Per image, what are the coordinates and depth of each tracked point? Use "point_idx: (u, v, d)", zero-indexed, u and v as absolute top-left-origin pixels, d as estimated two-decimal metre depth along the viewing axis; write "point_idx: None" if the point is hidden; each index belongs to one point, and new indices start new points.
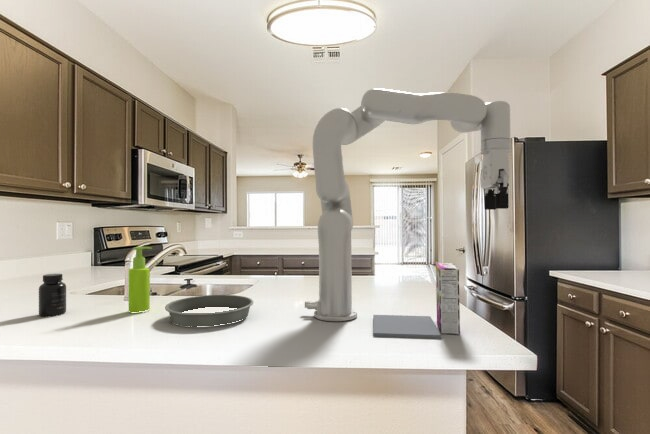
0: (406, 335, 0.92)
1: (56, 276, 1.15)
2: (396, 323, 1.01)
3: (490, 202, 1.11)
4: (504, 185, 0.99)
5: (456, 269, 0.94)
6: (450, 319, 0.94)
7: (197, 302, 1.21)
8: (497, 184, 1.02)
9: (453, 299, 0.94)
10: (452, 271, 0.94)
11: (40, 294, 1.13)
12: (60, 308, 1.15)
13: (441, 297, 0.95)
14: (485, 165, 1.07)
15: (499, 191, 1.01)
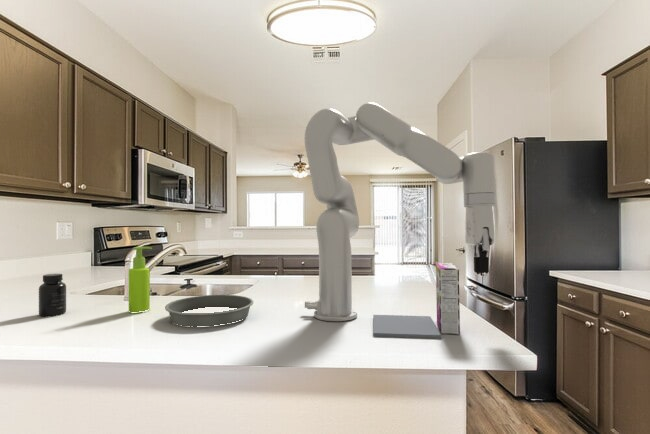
0: (406, 335, 0.92)
1: (56, 276, 1.15)
2: (396, 323, 1.01)
3: None
4: (483, 251, 0.96)
5: (456, 269, 0.94)
6: (450, 319, 0.94)
7: (197, 301, 1.21)
8: (478, 248, 0.97)
9: (453, 299, 0.94)
10: (452, 271, 0.94)
11: (40, 294, 1.13)
12: (60, 308, 1.15)
13: (441, 297, 0.95)
14: (468, 220, 0.99)
15: (478, 255, 0.97)
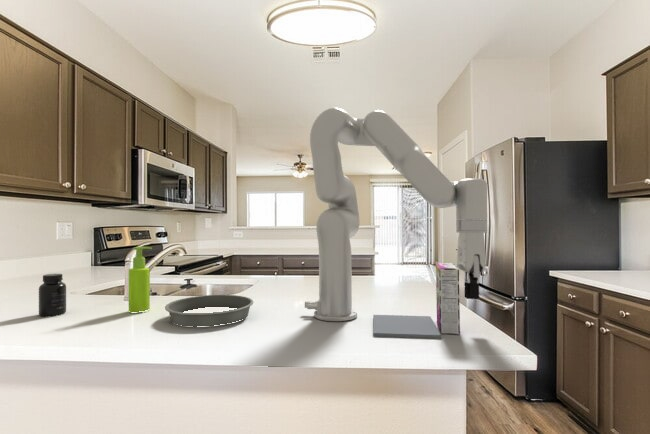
0: (406, 335, 0.92)
1: (56, 276, 1.15)
2: (396, 323, 1.01)
3: None
4: (473, 278, 0.96)
5: (456, 269, 0.94)
6: (450, 319, 0.94)
7: (197, 301, 1.21)
8: (469, 274, 0.97)
9: (453, 299, 0.94)
10: (452, 271, 0.94)
11: (40, 294, 1.13)
12: (60, 308, 1.15)
13: (441, 297, 0.95)
14: (460, 246, 0.99)
15: (469, 282, 0.97)
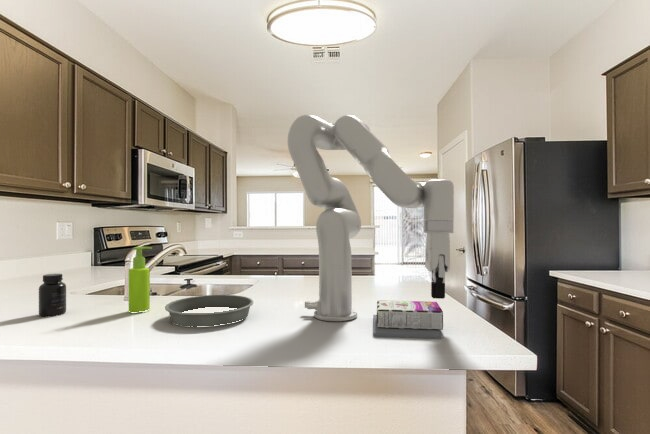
0: (406, 335, 0.92)
1: (56, 276, 1.15)
2: None
3: None
4: (439, 278, 0.97)
5: (377, 311, 0.97)
6: (427, 319, 0.95)
7: (197, 301, 1.21)
8: (435, 274, 0.98)
9: (407, 316, 0.96)
10: (379, 315, 0.97)
11: (40, 294, 1.13)
12: (60, 308, 1.15)
13: (405, 327, 0.96)
14: (427, 246, 1.00)
15: (435, 281, 0.98)
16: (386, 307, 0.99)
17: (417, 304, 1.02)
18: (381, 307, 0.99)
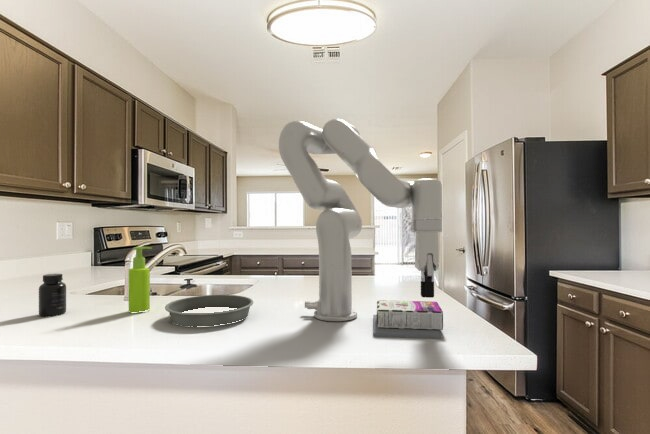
0: (406, 335, 0.92)
1: (56, 276, 1.15)
2: None
3: None
4: (428, 277, 0.98)
5: (377, 312, 0.97)
6: (427, 320, 0.95)
7: (197, 301, 1.21)
8: (424, 273, 0.99)
9: (407, 316, 0.96)
10: (379, 316, 0.97)
11: (40, 294, 1.13)
12: (60, 308, 1.15)
13: (405, 327, 0.96)
14: (416, 245, 1.00)
15: (424, 280, 0.99)
16: (386, 307, 0.99)
17: (417, 304, 1.02)
18: (381, 307, 0.99)
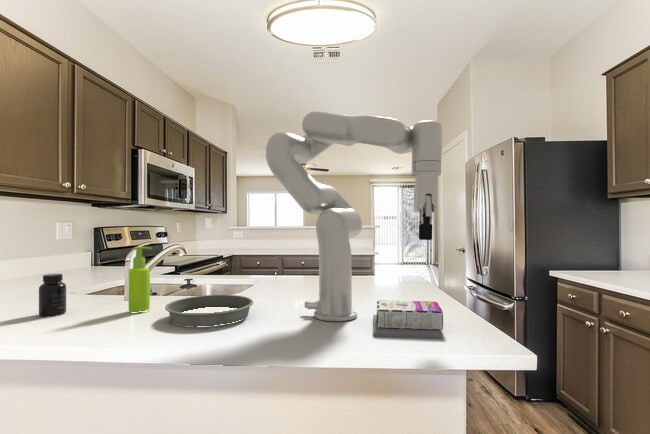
0: (406, 335, 0.92)
1: (56, 276, 1.15)
2: None
3: None
4: (426, 218, 0.98)
5: (377, 312, 0.97)
6: (427, 320, 0.95)
7: (197, 302, 1.21)
8: (422, 215, 0.99)
9: (407, 316, 0.96)
10: (379, 316, 0.97)
11: (40, 294, 1.13)
12: (60, 308, 1.15)
13: (405, 327, 0.96)
14: (415, 188, 1.01)
15: (422, 222, 0.99)
16: (386, 307, 0.99)
17: (417, 304, 1.02)
18: (381, 307, 0.99)
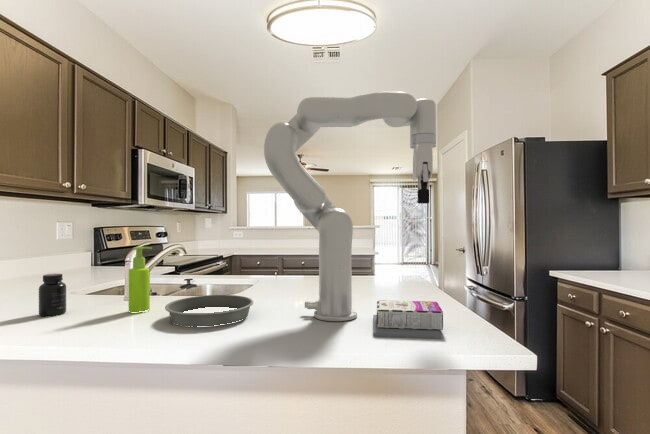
0: (406, 335, 0.92)
1: (56, 276, 1.15)
2: None
3: None
4: (423, 183, 1.12)
5: (377, 312, 0.97)
6: (427, 320, 0.95)
7: (197, 301, 1.21)
8: (420, 181, 1.13)
9: (407, 316, 0.96)
10: (379, 316, 0.97)
11: (40, 294, 1.13)
12: (60, 308, 1.15)
13: (405, 327, 0.96)
14: (413, 158, 1.15)
15: (420, 188, 1.14)
16: (386, 307, 0.99)
17: (417, 304, 1.02)
18: (381, 307, 0.99)
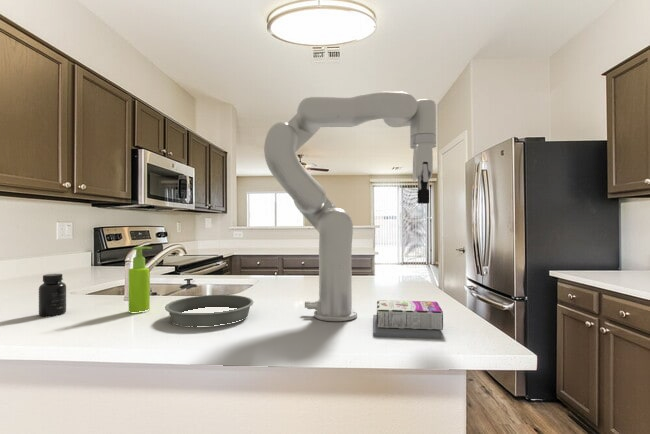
0: (406, 335, 0.92)
1: (56, 276, 1.15)
2: None
3: None
4: (423, 184, 1.12)
5: (377, 312, 0.97)
6: (427, 320, 0.95)
7: (197, 301, 1.21)
8: (420, 181, 1.13)
9: (407, 316, 0.96)
10: (379, 316, 0.97)
11: (40, 294, 1.13)
12: (60, 308, 1.15)
13: (405, 327, 0.96)
14: (413, 158, 1.15)
15: (420, 188, 1.14)
16: (386, 307, 0.99)
17: (417, 304, 1.02)
18: (381, 307, 0.99)
